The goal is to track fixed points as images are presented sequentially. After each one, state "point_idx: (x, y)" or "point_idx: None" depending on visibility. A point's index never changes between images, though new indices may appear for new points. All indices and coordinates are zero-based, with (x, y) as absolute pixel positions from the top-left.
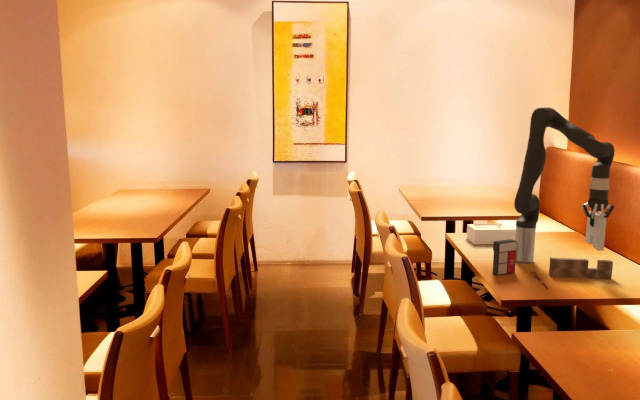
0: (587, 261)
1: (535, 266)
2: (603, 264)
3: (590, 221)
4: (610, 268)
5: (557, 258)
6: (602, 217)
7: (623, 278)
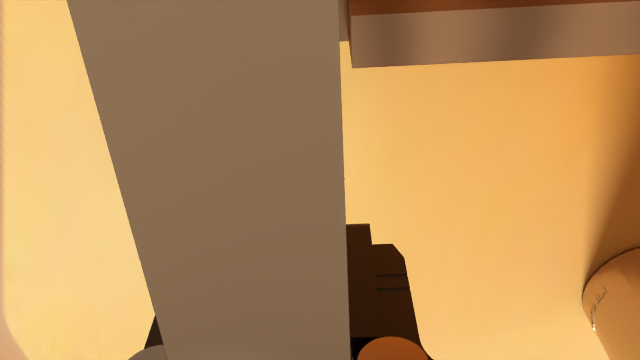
0: (360, 12)
1: (619, 189)
2: None
3: (411, 307)
4: None
5: (631, 31)
6: (184, 97)
7: None
